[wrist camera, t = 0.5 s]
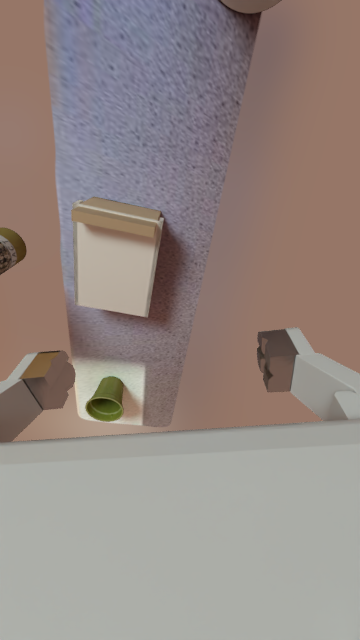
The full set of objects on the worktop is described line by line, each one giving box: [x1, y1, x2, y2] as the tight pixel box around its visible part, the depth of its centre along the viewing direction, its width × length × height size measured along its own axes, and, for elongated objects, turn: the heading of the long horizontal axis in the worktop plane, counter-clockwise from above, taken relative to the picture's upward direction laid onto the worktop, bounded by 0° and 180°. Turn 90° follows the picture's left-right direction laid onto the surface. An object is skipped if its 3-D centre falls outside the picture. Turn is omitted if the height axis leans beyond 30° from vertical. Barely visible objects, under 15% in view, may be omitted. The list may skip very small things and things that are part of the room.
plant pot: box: [85, 377, 123, 422], centre depth 68 cm, size 9×9×9 cm
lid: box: [71, 200, 164, 317], centre depth 45 cm, size 18×14×6 cm
